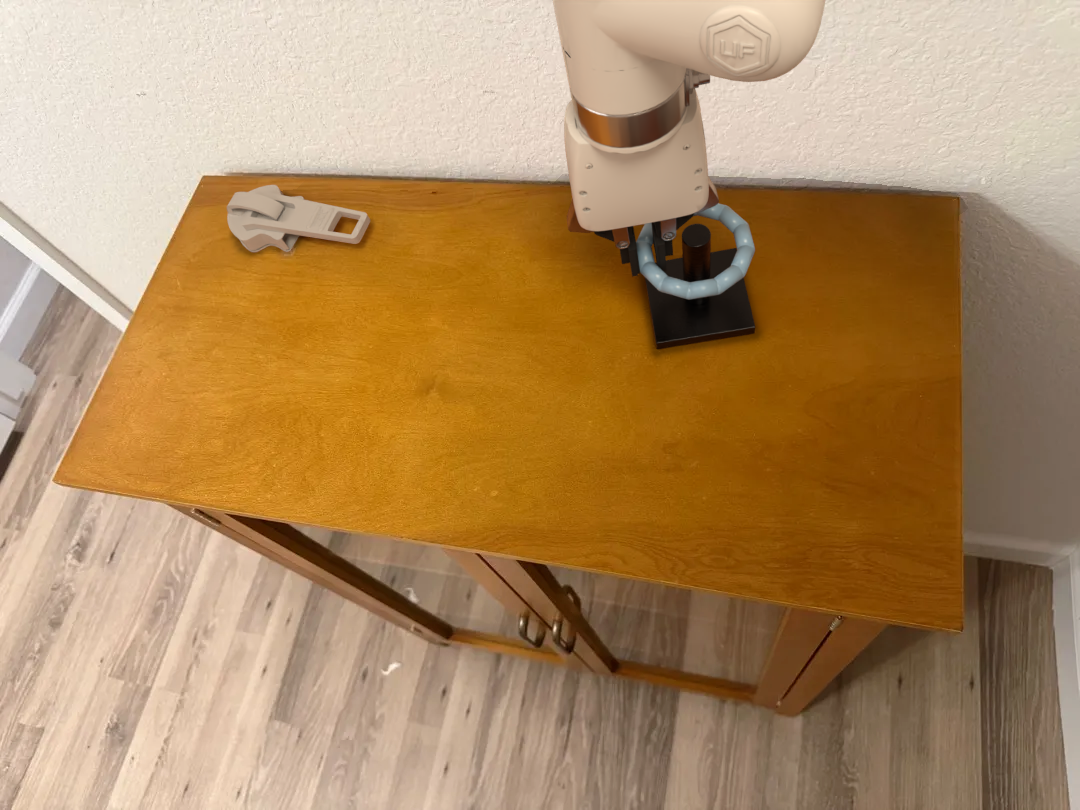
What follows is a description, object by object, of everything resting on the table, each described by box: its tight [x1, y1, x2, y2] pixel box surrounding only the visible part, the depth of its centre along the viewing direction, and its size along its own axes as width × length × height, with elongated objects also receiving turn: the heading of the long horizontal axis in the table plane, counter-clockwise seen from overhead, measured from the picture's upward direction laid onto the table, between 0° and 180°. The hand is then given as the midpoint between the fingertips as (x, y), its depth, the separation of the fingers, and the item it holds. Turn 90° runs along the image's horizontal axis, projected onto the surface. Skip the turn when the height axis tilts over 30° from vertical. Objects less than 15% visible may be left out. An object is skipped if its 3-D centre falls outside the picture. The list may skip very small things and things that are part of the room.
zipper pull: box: [226, 184, 371, 253], centre depth 85 cm, size 8×18×4 cm, turn 70°
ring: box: [636, 202, 756, 300], centre depth 66 cm, size 10×10×1 cm
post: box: [644, 223, 756, 350], centre depth 69 cm, size 9×9×10 cm
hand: (646, 259), depth 67 cm, fingers closed on ring, 1 cm apart
